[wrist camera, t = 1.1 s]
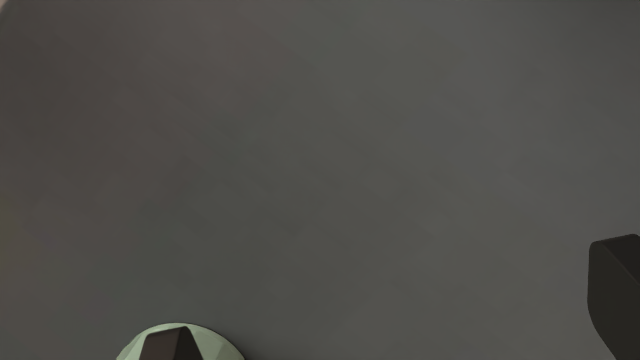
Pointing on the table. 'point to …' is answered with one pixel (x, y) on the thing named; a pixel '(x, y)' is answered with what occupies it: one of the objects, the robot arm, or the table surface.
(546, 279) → the table surface
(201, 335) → the pen pot
